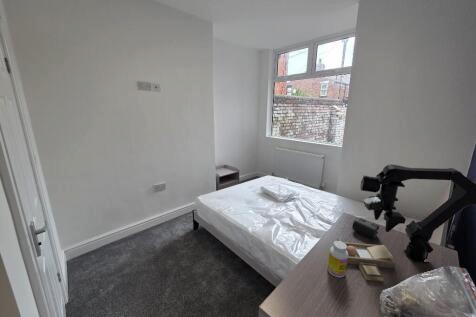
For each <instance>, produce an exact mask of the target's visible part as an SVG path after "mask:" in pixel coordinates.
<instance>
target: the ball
mask: <svg viewBox="0 0 476 317" xmlns="http://www.w3.org/2000/svg"><path fill="white" fill-rule="evenodd" d="M347 252H348V255H349V256H352V257H353V256H356V254H357V250H356V248H355V247H353V246H347Z"/></svg>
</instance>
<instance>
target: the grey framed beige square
mask: <svg viewBox="0 0 476 317" xmlns="http://www.w3.org/2000/svg"><path fill="white" fill-rule="evenodd" d="M358 268H359V270H360V272H361V274H362V275H363V277H364V279H365V280H367V281H375V282H384V274H383V273H382V271H381V270H380V268H379V267H378V266H377V265H376V264H370V263H360V265H358Z"/></svg>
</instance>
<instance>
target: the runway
mask: <svg viewBox="0 0 476 317" xmlns="http://www.w3.org/2000/svg"><path fill="white" fill-rule="evenodd" d="M336 241H341V242H343V243H345V244H346V245H347V246H353V247H355V248H356V250H357V254H356V256H353V257H352V256H348V262H347V265H349V264H351V265H358V266H359V265H360V263H370V264H376V265H377V267H378V268H379V267H380V268H388V269H389V268H390V269H394V268H396V267H395V266H396V264H397V263H396V261H395V260H394V257H393V255H392V254H391V252H390V251H389V250H388V248H387V247H386V245H384V244H382V245H381V244H370V243H361V242H359V243H358V242H350V241H347V242H346V241H342V240H341V238H340V237H337V240H336Z"/></svg>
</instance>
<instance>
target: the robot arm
mask: <svg viewBox="0 0 476 317" xmlns="http://www.w3.org/2000/svg"><path fill="white" fill-rule="evenodd" d="M408 180H433V181H451V182H452V183H453V184H454V185H456V186H455V188H454V189H453V191H452V194H451V196H450V197H449V198H448V199H447V200H446V201H445V202H443V203H442V204H441V205H439V207H437V208H436V209H434V210H433V211H432V212H431V213H430V214H428V215H427V216H426V217H425V218H423V220H421V221H417V222H416V221H415V220H411V221H410V223H409V224H406V225H405V229H404V231H405V234H406V236H407V237H408V240H409V242H408V244H407V245H406V249H403V252H404V253H405V255H407V257H408V258H409V257H410V258H409V259H410V260H411V261H412V262H414V261H418V262H417V263H424V260H425V259H428V257H429V254H431V253H432V252H433V251H434V248H433V246H432V245H431V243H430V242H429V241H430V240H432V236H433V235H434V232H435V231H436V230H437V229H439V228H440V227H441V226H442V225H444V224H445V223H446V222H448V221H449V220H450V219H451V218H453V217H454V216H455V215H457V214H458V213H459V212H461V211H462V210H463V209H465V208H466V207H471V206H476V181H473V180H471V179H469V178H468V177H467V176H465V174H463V173H462V172H461V171H460V170H457V169H456V168H454V167H453V168H452V167H448V168H433V167H432V168H430V167H429V168H427V167H425V168H423V167H407V166H403V165H397V164H387V165H386V166H384V168H383V169H382V170H381V171H380V172H379V173H377V175H375V176H368V175H362V178H361V181H360V191H363V192H367V193H368V192H369V193H377V194H376V195H375V196H374V195H370V196H369V197H368V198H364V199H363V204H364V207H365V208H366V209H367V210H368V211H373V216H374V220H375V221H378V220H379V219H380V217H381V215H382V213H383V211H384V213H383V217H382V219H383V220H384V221H385V233H388V232H389V233H390V231H391V230H392V229H394V228H395V227H397V226H398V225H400V224H401V225H402V224H405V223H406V219H407V218H406V217H405V216H404V215H403V214H401V213H400V212H398V211H394V210H397V207H396V206H395V204H396V202H398V201H399V198H398V197H397V195H398V194H397V193H398V189H399V187H400V188H406V185H405V184H404V183H403V182H405V181H408Z"/></svg>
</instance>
